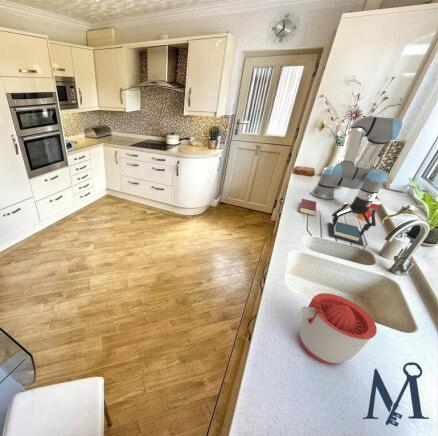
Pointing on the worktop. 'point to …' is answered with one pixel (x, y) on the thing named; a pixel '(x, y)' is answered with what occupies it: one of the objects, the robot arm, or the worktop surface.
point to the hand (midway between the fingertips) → (346, 230)
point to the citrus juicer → (334, 328)
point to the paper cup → (373, 205)
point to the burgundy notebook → (307, 207)
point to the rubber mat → (331, 233)
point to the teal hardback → (346, 231)
